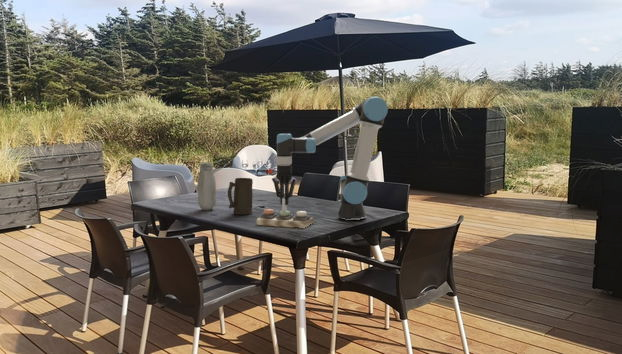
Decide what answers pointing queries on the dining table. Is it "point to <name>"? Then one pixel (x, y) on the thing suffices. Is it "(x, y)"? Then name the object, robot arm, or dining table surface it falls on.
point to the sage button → (285, 213)
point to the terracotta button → (268, 211)
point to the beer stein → (241, 196)
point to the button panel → (284, 220)
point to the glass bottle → (206, 187)
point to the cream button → (301, 213)
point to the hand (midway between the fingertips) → (284, 211)
